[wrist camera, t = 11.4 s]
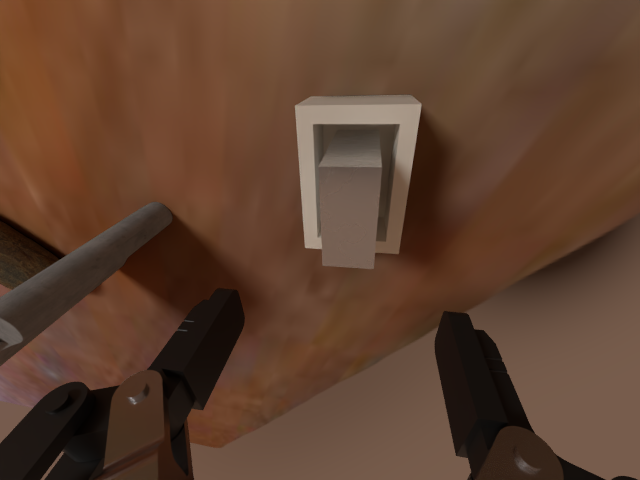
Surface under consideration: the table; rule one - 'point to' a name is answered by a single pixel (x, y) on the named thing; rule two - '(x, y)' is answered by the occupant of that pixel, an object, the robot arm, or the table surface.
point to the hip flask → (73, 278)
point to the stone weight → (20, 257)
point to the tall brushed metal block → (350, 198)
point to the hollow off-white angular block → (396, 155)
